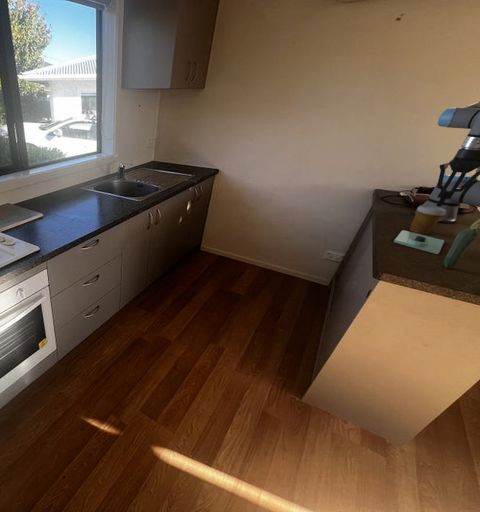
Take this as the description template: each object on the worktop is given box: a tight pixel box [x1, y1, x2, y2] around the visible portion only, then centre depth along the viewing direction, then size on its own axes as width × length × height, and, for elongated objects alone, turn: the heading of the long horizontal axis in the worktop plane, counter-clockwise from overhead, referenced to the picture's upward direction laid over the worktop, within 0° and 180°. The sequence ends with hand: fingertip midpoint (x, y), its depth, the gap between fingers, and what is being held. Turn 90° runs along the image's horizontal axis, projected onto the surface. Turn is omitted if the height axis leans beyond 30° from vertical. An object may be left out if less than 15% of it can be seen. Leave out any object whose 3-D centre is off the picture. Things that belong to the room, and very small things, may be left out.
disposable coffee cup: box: [409, 204, 446, 235], centre depth 137 cm, size 10×10×12 cm
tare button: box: [415, 236, 426, 242], centre depth 124 cm, size 3×3×2 cm
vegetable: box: [443, 217, 480, 269], centre depth 105 cm, size 4×4×20 cm
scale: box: [393, 229, 445, 255], centre depth 128 cm, size 18×14×3 cm
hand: (438, 205), depth 125 cm, fingers closed
